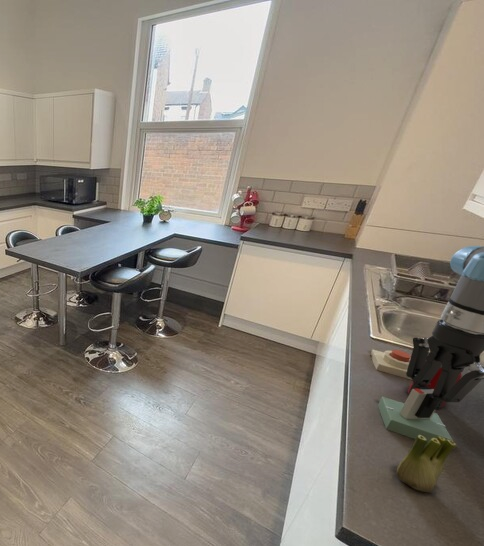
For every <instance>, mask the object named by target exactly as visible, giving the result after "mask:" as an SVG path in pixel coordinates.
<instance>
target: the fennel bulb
mask: <svg viewBox="0 0 484 546" xmlns="http://www.w3.org/2000/svg"><path fill="white" fill-rule="evenodd" d="M426 442H427V439H426V438H425V437H423V436H422V435H418V436H417V438H416V439H414V442H413V444H412V446H411V448H410V449H409V451H408V453H407V454H406V455H405V456H404V457H403V459H401V460H400V462H399V463H398V465H397V468H396V476H397V478H398V479H399V480H400V481H402V482H403V483H405V484H406V485H408V486H409V487H411V488H412V489H413V490H416V491H418V492H421V493H431V492H432V491H433V489H434V488H435V486H436V484H437V482H438V481H439V479H440V476H441V474H442V472H443V470H444V467H445V462H446V460H447V458H448V457H449V455H450V454H451V453H452V451H453V450H454V449H455V448H456V447H457V446H458V445H457V443H456V442H454V441H451V440H445V438H442V437H440V436H438V437H437V439H436V438H432V439H431V440H430V441H429V442H428V443H426Z"/></svg>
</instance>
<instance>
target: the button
mask: <svg viewBox="0 0 484 546" xmlns="http://www.w3.org/2000/svg"><path fill="white" fill-rule="evenodd" d="M391 351H392V352H391V355H390V356H391V357H393V358H394V359H397V360H399V361H403V362H409V360H410V358H411V354H409V353H407V352H406V351H403V350H399V349H392V350H391Z"/></svg>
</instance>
